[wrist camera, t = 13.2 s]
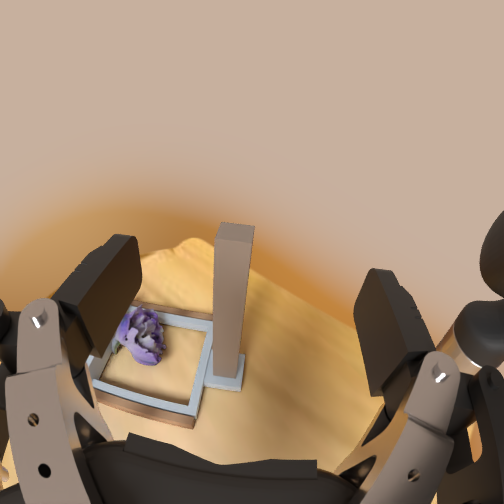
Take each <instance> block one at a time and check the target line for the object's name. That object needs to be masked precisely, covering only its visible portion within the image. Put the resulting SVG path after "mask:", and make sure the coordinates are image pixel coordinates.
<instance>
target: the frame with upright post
mask: <svg viewBox="0 0 504 504" xmlns="http://www.w3.org/2000/svg"><path fill="white" fill-rule="evenodd" d="M254 228H255V226H250V225H242V224H234V223H225V222H221V224H220V227H219V229H218V232H217V234H216V237H215V246H214V280H213V321H207V320H201V319H195V318H190V317H184V316H178V315H173V314H168V313H163V312H158V311H155V312H156V313H157V314H158V322H159V323H162V324H167V325H172V326H177V327H182V328H188V329H193V330H199V331H205V332H207V334H206V338H205V341H204V345H203V349H202V353H201V357H200V361H199V365H198V369H197V373H196V377H195V381H194V385H193V389H192V393H191V397H190V401H189V405H188V406H187V405H182V404H177V403H173V402H169V401H164V400H160V399H157V398H153V397H149V396H145V395H142V394H138V393H135V392H132V391H128V390H125V389H122V388H119V387H116V386H113V385H110V384H107V383H104V382H101V381H99V378H100V376H101V374H102V371H103V369H104V367H105V365H106V363H107V361H108V359H109V357H110V355H111V353H112V351H111V347H112V341H113V338H115V335H116V332H117V330H116V332H115V334H114V336H113V338H112V340H111V342H110V343H109V345H108V347H107V349H106V351H105V353H104V355H103V357H102V359H100V358H97V357H94V356H92V355H89V357H88V359H87V361H86V362H87V364H88V367H89V372H90V376H91V380H92V384H93V388H94V389H97V390H99V391H102V392H105V393H108V394H111V395H113V396H116V397H119V398H122V399H125V400H129V401H132V402H135V403H138V404H142V405H145V406H149V407H152V408H156V409H160V410H164V411H168V412H172V413H177V414H181V415H186V416H191V417H194V419H197V414H198V410H199V405H200V401H201V396H202V392H203V387H204V386H206V387H212V388H218V389H224V390H231V391H239V392H240V391H241V384H242V376H243V368H244V360H245V354H239V350H240V342H241V334H242V326H243V318H244V310H245V301H246V293H247V285H248V277H249V269H250V260H251V253H252V244H253V235H254ZM136 308H137V307H134V306H131V305H130V307H129V308H128V310H127V312H126V314H128V313H130V312H132V311H133V310H135V309H136ZM142 309H143V308H142ZM143 310H145V309H143ZM212 347H213V350H212Z"/></svg>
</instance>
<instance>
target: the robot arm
mask: <svg viewBox="0 0 504 504" xmlns="http://www.w3.org/2000/svg"><path fill="white" fill-rule="evenodd" d="M480 271H481V275H482V278H483V280H484V282H485V283H486V284H487V285H488V286H489V288H491V290H492V291H494V292H495V293H497V294H498V295H500V296H502V297H503V298H504V211H503V212H502V213H501V214H500V215H499V216H498V218H497V219H496V220H495V222H494V223H493V225H492V226H491V228H490V230H489V232H488V234H487V236H486V238H485V240H484V243H483V245H482V249H481V254H480ZM141 283H142V268H141V262H140V255H139V248H138V242H137V239H136V237H135V236H129V235H121V234H114V235H113V236H112V237H111V238H110V239H109V240H108V241H107V242H106V243H105V244H104V245H103V246H100V247H99V248H97V249H95V250H93V251H92V252H90V253H89V254H88V255H87V256H86V257H85V258H84V260H83V261H82V262H81V264H79V265H78V266H77V267H76V269H75V271H74V272H72V273H71V275H69V277H68V278H67V279H66V280H65V281H64V283H63V284H62V285H61V286H60V287H59V289H58V290H57V291H56V292H55V294H54V295H53V296H52V297H51V299H48V298H41V299H37V300H34V301H32V302H31V303H29V304H28V305H27V306H26V307H25V308H24V309H23V310H22V312H14V311H12V312H11V311H7V309H6V307H5V305H4V303H3V301H2V300H1V299H0V361H1V362H2V363H1V365H0V504H431V502H432V500H433V498H434V496H435V494H436V492H437V504H504V378H503V376H502V375H501V373H500V372H499V371H498V370H497V368H498V367H499V366H500V365H501V363H502V362H503V361H504V299H502V300H498V301H473V302H470V303H469V304H467V305H466V306H465V307H464V308H463V310H462V311H461V312H460V314H459V315H458V317H457V319H456V320H455V322H454V323H453V324H452V326H451V327H450V329H449V330H448V332H447V333H446V334H445V336H444V337H443V339H442V340H441V341H440V343H439V344H438V345H437V346H436V348H435V346H434V343H433V341H432V339H431V336H430V334H429V332H428V329H427V327H426V325H425V323H424V321H423V319H421V314H420V312H419V310H417V306H416V304H415V302H414V300H413V298H412V296H411V295H410V294H409V293H408V292H407V291H406V290H405V289H404V288H403V286H400V285H399V283H398V281H397V279H396V277H395V275H394V273H393V272H392V271H390V270H382V269H375V268H372V269H370V270H369V272H368V274H367V276H366V279H365V281H364V283H363V286H362V288H361V290H360V293H359V295H358V297H357V300H356V302H355V305H354V313H353V314H354V321H355V325H356V329H357V334H358V338H359V342H360V346H361V351H362V355H363V360H364V364H365V369H366V374H367V379H368V384H369V390H370V395H371V397H376V396H384V401H385V402H384V403H383V404H382V405H381V406H380V408H379V410H378V412H377V413H376V415H375V417H374V419H373V420H372V422H371V424H370V425H369V427H368V429H367V430H366V432H365V434H364V435H363V437H362V438H361V440H360V441H359V443H358V444H357V446H356V447H355V449H354V450H353V451H352V452H351V454H350V455H349V456H347V457H346V458H345V459H344V461H343V462H342V463H341V464H340V465H339V466H338V467H337V469H336V470H335V471H334V472H333V473H331V472H328V471H325V470H322V469H318V468H317V460H278V459H269V460H263V461H256V462H248V463H240V464H230V465H218V464H215V463H212V462H210V461H207V460H205V459H202V458H200V457H198V456H195V455H193V454H191V453H189V452H187V451H184V450H182V449H180V448H178V447H176V446H174V445H172V444H168V443H164V442H160V441H156V440H153V439H149V438H146V437H142V436H139V435H136V434H133V433H130V432H129V434H128V437H127V440H118V441H114V439H113V437H112V435H111V432H110V430H109V428H108V426H107V424H106V423H105V421H104V419H103V417H102V415H101V413H100V410H99V406H98V403H97V399H96V396H95V392H94V388H93V384H92V380H91V376H90V372H89V367H88V364H87V362H86V361H87V359H88V357H89V355H92V356H94V357H97V358H100V359H102V357H103V355H104V353H105V351H106V349H107V347H108V345H109V343H110V342H111V340H112V338H113V336H114V334H115V332H116V330H117V328H118V326H119V325H120V323H121V321H122V319H123V317H124V316H125V314H126V312H127V310H128V308H129V307H130V305H131V303H132V301H133V300H134V298H135V296H136V294H137V293H138V291H139V289H140V286H141ZM475 421H477V424H478V428H479V433H480V437H481V442H482V454H481V457H480V458H479V459H478V460H477V461H476V462H475V463H474V462H473V459H472V453H471V448H470V442H469V436H468V432H467V427H469V426H470V425H471V424H473V423H474V422H475ZM9 437H10V444H11V449H12V455H13V460H14V464H15V469H16V473H17V477H18V481H19V483H17V484H15V485H13V486H11V487H8V488H6V489H3V485H2V481H3V482H6V481H8V479H9V473H8V471H7V469H6V468H5V467H4V466H2V464H1V463H2V459H3V456H4V453H5V449H6V446H7V443H8V440H9Z"/></svg>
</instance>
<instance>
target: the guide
mask: <svg viewBox="0 0 504 504" xmlns="http://www.w3.org/2000/svg"><path fill="white" fill-rule="evenodd" d="M142 304H143V305H142ZM140 305H142V307H141V308H143V309H154V311H158V312H163V313H168V314H173V315H178V316H184V317H190V318H195V319H201V320H207V321H213V315H212V314H205V313H199V312H193V311H187V310H182V309H176V308H171V307H165V306H160V305H155V304H150V303H145V302H140V301H135V300H133V301H132V303H131V306H134V307H138V306H140ZM94 392H95V396H96V399H97V402H100V403H102V404H105V405H108V406H111V407H113V408H116V409H119V410H122V411H125V412H128V413H131V414H134V415H138V416H141V417H144V418H148V419H151V420H155V421H159V422H163V423H166V424H171V425H175V426H179V427H184V428H188V429H193V427H194V423H195V421H194V417H191V416H186V415H181V414H177V413H172V412H168V411H164V410H160V409H156V408H152V407H149V406H145V405H142V404H138V403H135V402H132V401H129V400H125V399H122V398H119V397H116V396H113V395H111V394H108V393H105V392H102V391H99V390H97V389H94Z"/></svg>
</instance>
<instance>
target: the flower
mask: <svg viewBox="0 0 504 504" xmlns="http://www.w3.org/2000/svg"><path fill="white" fill-rule="evenodd" d="M142 305H143V304H142ZM142 305H140V306H138V307H137V308H136V309H135V310H133V311H132V312H130V313H128V314H125V316H124V317H123V319H122V321H121V323H120V325H119V326H118V328H117V332H116V335H115V338H113V341H112V347H111V351H112V352H113V353H114V354H117V348H118V347H119V345H120V344H122V345H124V346H125V347H126V348H127V349H128V350H129V351H130V352H131V353H132V356H133V358H134V359H135V361H137V362H138V363H140V364H143V365H156V364H157V363H159V362H160V360H161V357H159V354H162V352H163V351H162V350H161V348H163V349H166V345H165V344H164V345H162V342H163V340H164V337H163V334H162V332H164V330H163V328H162V326H160V325H159V322H158V314H157V313H156V312H155V311H154V309H145V310H143V309H142V308H141V307H142Z"/></svg>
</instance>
